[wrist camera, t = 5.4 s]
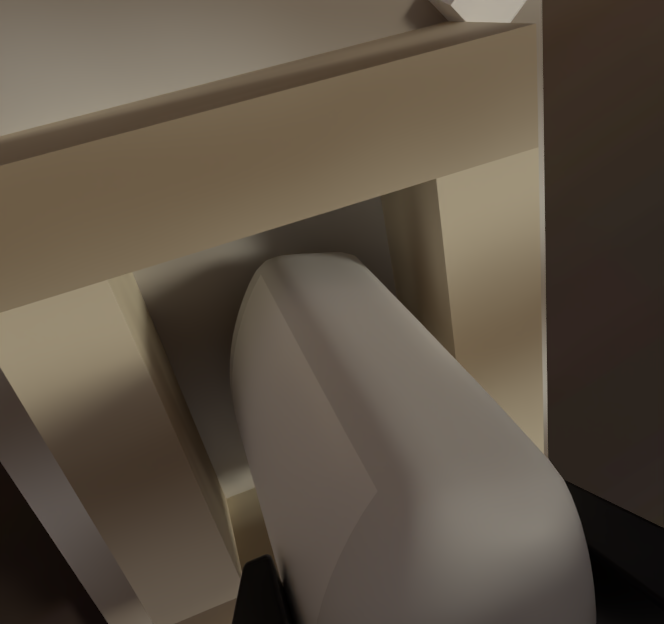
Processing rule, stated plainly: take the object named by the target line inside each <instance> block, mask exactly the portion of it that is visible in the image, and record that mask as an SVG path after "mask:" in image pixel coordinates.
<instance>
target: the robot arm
mask: <svg viewBox="0 0 664 624" xmlns="http://www.w3.org/2000/svg"><path fill="white" fill-rule="evenodd" d="M564 481H565V480H564ZM565 483H566V485H567V487H568V489H569V492H570V494H571V496H572V499H573V501H574V504H575V506H576V509H577V511H578V514H579V518H580V521H581V524H582V527H583V531H584V535H585V539H586V543H587V547H588V552H589V557H590V563H591V568H592V575H593V582H594V591H595V604H596V624H664V528H663V527H660V526H658V525H656V524H654V523H652V522H650V521H648V520H646V519H644V518H642V517H640V516H638V515H636V514H634V513H632V512H629V511H627V510H625V509H623V508H621V507H619V506H617V505H615V504H613V503H611V502H609V501H607V500H605V499H603V498H601V497H599V496H596V495H594V494H592V493H590V492H588V491H586V490H584V489H582V488H580V487H578V486H576V485H574V484H572V483H570V482H568V481H565ZM232 624H294V623H293V619H292V615H291V612H290V608H289V605H288V601H287V598H286V594H285V590H284V587H283V584H282V582H281V579H280V577H279V574H278V571H277V569H276V566H275V564H274V561H273V559H272V557H271V555H269V554H265V555H262V556H260V557H258V558H255V559H253V560H250V561H248V562H246V563H245V565H244V567H243V570H242V575H241V580H240V585H239V590H238V594H237V599H236V604H235V609H234V614H233V619H232Z"/></svg>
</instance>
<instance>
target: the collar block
mask: <svg viewBox="0 0 664 624" xmlns="http://www.w3.org/2000/svg"><path fill="white" fill-rule="evenodd" d="M323 252H343V253H347V254H351V255H354V256H356V257H357V258H358V259H359V260H360V261H361V262H362V263H363V264H364V265H365V266H366V267H367V268H368V269H369V270H370V271H371V272H372V273H373V274H374V275H375V276H376V277H377V278H378V280H379V281H380V282H381V283H382V284H383V285H384V286H385V287H386V288H387V289H388V290H389V291H390V292H391V293H392V294H393V295H394V296H395V297H396V298H397V299H398V300H399V301H400V302H401V303H402V304H403V305H404V306H405V307H406V308H407V309H408V310H409V311H410V312H411V313H412V315H413V316H414V317H415V318H416V319H417V320H418V321H419V322H420V323H421V324H422V325H423V326H424V327H425V328H426V329H427V330H428V331H429V332H430V333H431V334H432V335H433V336H434V337H435V338H436V339H437V341H438V342H439V343H440V344H441V345H442V346H443V347H444V348H445V349H446V350H447V351H448V352H449V353H450V354H451V355H452V356H453V357H454V358H455V359H456V360H457V361H458V362H459V363H460V365H461V366H462V367H463V368H464V369H465V370H466V371H467V372H468V373H469V374H470V375H471V376H472V377H473V378H474V379H475V380H476V381H477V382H478V383H479V384H480V385H481V386H482V388H483V389H484V390H485V391H486V392H487V393H488V394H489V395H490V396H491V397H492V398H493V399H494V400H495V401H496V402H497V403H498V404H499V406H500V407H501V408H502V409H503V410H504V411H505V412H506V413H507V414H508V415H509V417H510V418H511V419H512V420H513V421H514V422H515V423H516V424H517V425H518V426H519V427H520V429H521V430H522V431H523V432H524V433H525V434H526V435H527V436H528V437H529V438H530V440H531V441H532V442H533V443H534V444H535V445H536V446H537V447H538V448H539V449H540V450H541V452H542V453H543V454H544V455H545V456H546V457H547V458H548V423H547V347H546V271H545V195H544V119H543V43H542V0H527V1H526V2H525V4H524V5H523V6H522V8H521V9H520V10H519V12H518V13H517V15H516V16H515V17H514V19H513V20H512V21H511V23H497V22H456V21H448V20H447V19H446V18H445V17H444V16H443V15H442V14H441V13H440V12H439V11H438V10H437V9H436V7H435V6H434V5H433V4H432V3H431V2H430V1H429V0H0V462H1V463H2V465H3V466H4V468H5V469H6V471H7V472H8V474H9V475H10V477H11V478H12V480H13V481H14V483H15V484H16V486H17V487H18V489H19V490H20V492H21V493H22V495H23V496H24V498H25V499H26V501H27V502H28V504H29V505H30V507H31V508H32V510H33V511H34V513H35V514H36V516H37V517H38V519H39V520H40V522H41V523H42V525H43V526H44V528H45V529H46V531H47V532H48V534H49V535H50V537H51V538H52V540H53V541H54V543H55V544H56V546H57V547H58V549H59V550H60V552H61V553H62V555H63V556H64V558H65V559H66V561H67V562H68V564H69V565H70V567H71V568H72V570H73V571H74V573H75V574H76V576H77V577H78V579H79V580H80V582H81V583H82V585H83V586H84V588H85V589H86V591H87V592H88V594H89V595H90V597H91V598H92V600H93V601H94V603H95V604H96V606H97V607H98V609H99V610H100V612H101V613H102V615H103V616H104V618H105V619H106V621H107V622H108V624H232V619H233V614H234V609H235V604H236V599H237V594H238V590H239V585H240V580H241V575H242V570H243V567H244V565H245V563H246V562H248V561H250V560H253V559H255V558H258V557H260V556H262V555H265V554H269V555H271V557H272V559H273V561H274V564H275V566H276V569H277V571H278V568H277V564H276V561H275V557H274V553H273V550H272V546H271V543H270V539H269V536H268V532H267V528H266V525H265V521H264V518H263V514H262V510H261V507H260V503H259V500H258V496H257V493H256V489H255V485H254V482H253V478H252V475H251V471H250V467H249V464H248V460H247V457H246V453H245V449H244V446H243V442H242V439H241V435H240V431H239V428H238V424H237V421H236V417H235V412H234V407H233V402H232V395H231V388H230V353H231V344H232V337H233V332H234V328H235V323H236V320H237V316H238V312H239V309H240V306H241V303H242V300H243V298H244V295H245V293H246V290H247V288H248V285H249V283H250V281H251V279H252V277H253V275H254V274H255V272H256V270H257V269H258V268H259V267H260V266H261V265H262V264H263V263H264V262H265V261H266V260H268V259H271V258H274V257H277V256H280V255H290V254H305V253H323ZM278 574H279V571H278ZM279 577H280V575H279ZM280 579H281V578H280Z"/></svg>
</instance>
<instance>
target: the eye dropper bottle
mask: <svg viewBox="0 0 664 624" xmlns="http://www.w3.org/2000/svg"><path fill="white" fill-rule="evenodd" d="M230 388H231V395H232V402H233V407H234V412H235V417H236V421H237V424H238V428H239V431H240V435H241V439H242V442H243V446H244V449H245V453H246V457H247V460H248V464H249V467H250V471H251V475H252V478H253V482H254V485H255V489H256V493H257V496H258V500H259V503H260V507H261V510H262V514H263V518H264V521H265V525H266V528H267V532H268V536H269V539H270V543H271V546H272V550H273V553H274V557H275V561H276V564H277V568H278V571H279V575H280V578H281V582H282V584H283V587H284V590H285V594H286V598H287V601H288V605H289V608H290V612H291V615H292V619H293V623H294V624H596V604H595V591H594V582H593V575H592V568H591V563H590V557H589V552H588V547H587V543H586V539H585V535H584V531H583V527H582V524H581V521H580V518H579V514H578V511H577V509H576V506H575V504H574V501H573V499H572V496H571V494H570V492H569V489H568V487H567V485H566V483H565V481H564V480H563V478H562V477H561V476H560V474H559V473H558V471H557V470H556V469H555V467H554V466H553V465H552V463H551V462H550V461H549V459H548V458H547V457H546V456H545V455H544V454H543V453H542V452H541V450H540V449H539V448H538V447H537V446H536V445H535V444H534V443H533V442H532V441H531V440H530V438H529V437H528V436H527V435H526V434H525V433H524V432H523V431H522V430H521V429H520V427H519V426H518V425H517V424H516V423H515V422H514V421H513V420H512V419H511V418H510V417H509V415H508V414H507V413H506V412H505V411H504V410H503V409H502V408H501V407H500V406H499V404H498V403H497V402H496V401H495V400H494V399H493V398H492V397H491V396H490V395H489V394H488V393H487V392H486V391H485V390H484V389H483V388H482V386H481V385H480V384H479V383H478V382H477V381H476V380H475V379H474V378H473V377H472V376H471V375H470V374H469V373H468V372H467V371H466V370H465V369H464V368H463V367H462V366H461V365H460V363H459V362H458V361H457V360H456V359H455V358H454V357H453V356H452V355H451V354H450V353H449V352H448V351H447V350H446V349H445V348H444V347H443V346H442V345H441V344H440V343H439V342H438V341H437V339H436V338H435V337H434V336H433V335H432V334H431V333H430V332H429V331H428V330H427V329H426V328H425V327H424V326H423V325H422V324H421V323H420V322H419V321H418V320H417V319H416V318H415V317H414V316H413V315H412V313H411V312H410V311H409V310H408V309H407V308H406V307H405V306H404V305H403V304H402V303H401V302H400V301H399V300H398V299H397V298H396V297H395V296H394V295H393V294H392V293H391V292H390V291H389V290H388V289H387V288H386V287H385V286H384V285H383V284H382V283H381V282H380V281H379V280H378V278H377V277H376V276H375V275H374V274H373V273H372V272H371V271H370V270H369V269H368V268H367V267H366V266H365V265H364V264H363V263H362V262H361V261H360V260H359V259H358V258H357V257H356V256H354V255H351V254H347V253H343V252H323V253H305V254H290V255H280V256H277V257H274V258H271V259H268V260H266V261H265V262H264V263H263V264H262V265H261V266H260V267H259V268H258V269H257V270H256V272H255V274H254V275H253V277H252V279H251V281H250V283H249V285H248V288H247V290H246V293H245V295H244V298H243V300H242V303H241V306H240V309H239V312H238V316H237V320H236V323H235V328H234V332H233V337H232V344H231V353H230Z"/></svg>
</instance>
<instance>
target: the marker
mask: <svg viewBox="0 0 664 624" xmlns="http://www.w3.org/2000/svg"><path fill="white" fill-rule="evenodd" d="M429 1H430V2H431V3H432V4H433V5H434V6H435V7H436V9H437V10H438V11H439V12H440V13H441V14H442V15H443V16H444V17H445V18H446V19H447V20H448V21H456V22H497V23H511V21H512V20H513V19H514V17H515V16H516V15H517V13H518V12H519V10H520V9H521V8H522V6H523V5H524V4H525V2H526V1H527V0H429Z"/></svg>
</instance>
